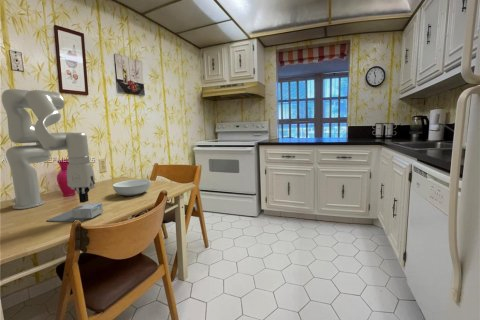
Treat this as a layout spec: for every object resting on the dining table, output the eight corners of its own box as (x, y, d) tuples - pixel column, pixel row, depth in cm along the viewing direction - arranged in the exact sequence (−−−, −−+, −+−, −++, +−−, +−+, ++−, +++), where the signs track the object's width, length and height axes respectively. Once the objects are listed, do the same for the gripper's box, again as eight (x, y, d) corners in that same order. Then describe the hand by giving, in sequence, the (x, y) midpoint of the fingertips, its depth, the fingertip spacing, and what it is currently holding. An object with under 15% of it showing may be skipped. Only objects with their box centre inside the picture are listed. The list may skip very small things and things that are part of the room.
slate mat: (46, 221, 101) (46, 220, 101) (73, 210, 115) (73, 209, 115) (80, 222, 99) (80, 221, 99) (103, 210, 113) (103, 209, 113)
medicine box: (72, 218, 102) (91, 218, 101) (71, 208, 101) (90, 208, 101) (85, 212, 110) (103, 212, 109) (84, 202, 109) (102, 202, 109)
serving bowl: (155, 188, 154) (154, 178, 153) (144, 197, 133) (143, 186, 132) (122, 190, 152) (121, 179, 151) (106, 199, 132) (105, 187, 131)
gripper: (56, 162, 100) (62, 204, 103) (88, 162, 98) (93, 204, 101) (71, 160, 108) (76, 199, 110) (101, 159, 106) (105, 199, 108)
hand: (84, 201), depth 105 cm, fingers closed
